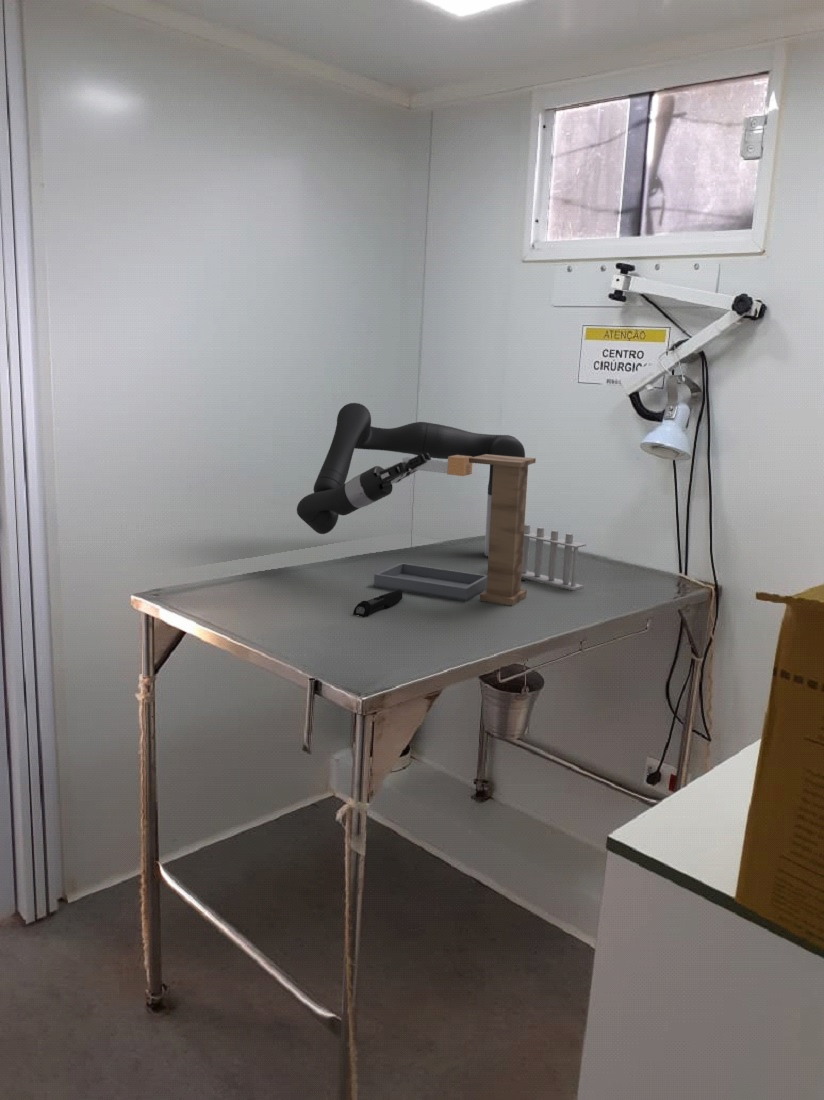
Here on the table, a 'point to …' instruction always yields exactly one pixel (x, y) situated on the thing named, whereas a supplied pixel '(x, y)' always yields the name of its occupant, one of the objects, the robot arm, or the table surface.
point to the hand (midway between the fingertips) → (426, 457)
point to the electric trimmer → (377, 603)
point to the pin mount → (506, 527)
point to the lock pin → (447, 465)
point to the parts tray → (431, 581)
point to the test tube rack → (550, 558)
